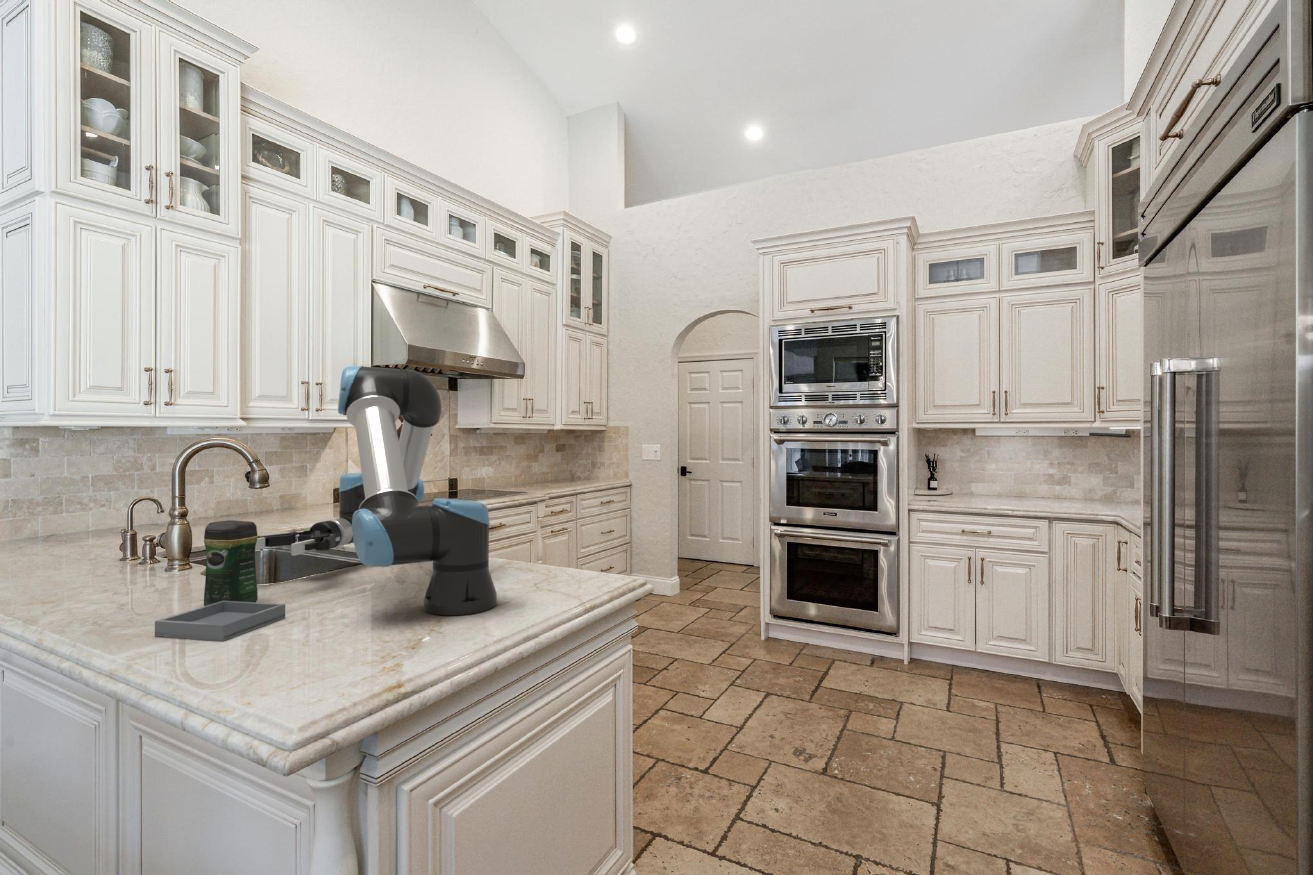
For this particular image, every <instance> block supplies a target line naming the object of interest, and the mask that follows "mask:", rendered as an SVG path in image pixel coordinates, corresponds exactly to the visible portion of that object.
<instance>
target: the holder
mask: <svg viewBox="0 0 1313 875" xmlns="http://www.w3.org/2000/svg"><path fill="white" fill-rule="evenodd" d="M283 619H286V604H285V603H275V602H274V603H272V602H271V603H270V602H239V601H220V602H217V603H214V604H210V605H207V606H204V605H203V606H200V607H198V608H194V609H192V610H188V611H184V612H182V613H181V612H180V613H178V614H174V615H171V616H168V617H164V618H161V619H158V620H155V621H154V637H156V636H164V637H163V638H170V637H171V638H172V639H173V638H174V639H184V638H186V639H187V640H201V641H216V642H225V641H228V640H230V639H233V638H235V637H238V636H241V635H244V634H246V633H249V632H252V631H255V630H258V629H260V628H262V627H266V626H267V625H270V624H274V623H276V622H279V621H281V620H283ZM165 636H166V637H165Z"/></svg>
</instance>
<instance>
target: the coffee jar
mask: <svg viewBox="0 0 1313 875" xmlns="http://www.w3.org/2000/svg"><path fill="white" fill-rule="evenodd" d="M257 529H258V528H257V524H256V523H255V522H253V521H249V520H248V521H246V520H244V521H243V520H235V519H234V520H233V519H232V520H221V521H220V520H219V521H214V522H209V523H208V524H207V525H206V526H205V529H204V533H203V534H204V536H203V544H204V546H205V554H206V555H205V556H206V562H205V563H206V564H205V565H206V566H205V580H204V582H205V583H204V594H203V607H204V606H207V605H210V604H214V603H217V602H220V601H239V602H256V603H258V597H259V595H258V594H259V593H258V583H257V582H258V581H257V570H256V567H257V566H256V551H255V546H256V542H257V539H258V536H259V535H258V534H259V533H258V530H257Z"/></svg>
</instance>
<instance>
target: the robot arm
mask: <svg viewBox="0 0 1313 875" xmlns="http://www.w3.org/2000/svg"><path fill="white" fill-rule="evenodd" d="M339 386H340V388H339V394H338V404H337V413H338V414H340V415H342V416H346V419H347V421H348V423H349V424H350V425H351V426H353V427H354V428H355V433H356V435H355V436H356V443H357V448H358V456H359V462H360V470H361V472H360V473H359V472H350V473H349V472H348V473H343V474H342V475H340V479H339V489H338V493H339V494H338V495H339V496H338V497H339V498H338V503H339V505H338V506H339V509H338V510H339V512H338V515H339V516H338V517H337V518H334V519H333V518H332V519H328V520H325V521H319V522H318V521H317V522H316V523H314V524H313V525H311V527H310V528H309V530H303V531H295V530H294V531H291V532H284V533H276V534H268V535H257V536H258V539H257V542H256V546H255V552H256V551H260V552H261V551H264V549H266V548H271V547H282V546H283V547H284V546H291V548H290V549H291V551H290V552H291V556H293V557H294V556H299V555H302V554H307V553H310V552H315V550H316V551H318V552H319V551H320V552H321V551H322V552H325V551H329V550H331V549H336V550H338V549H340V547H342V546H346V545H350V544H353V546H354V549H355V552H356V555H357V557H358V559H359V561H360V563H361V564H362V565H365V566H366V567H368V568H374V567H385V568H388V567H390V566H399V565H407V564H408V565H409V564H418V563H426V562H432V573H431V577H430V580H429V582H428V586H427V589H426V590H425V591H426V592H425V594H424V595H425V596H424V598H423V610H424V611H425V612H426V613H428V614H432V615H438V616H461V615H472V614H477V613H481V612H485V611H488V610H491V609H493V608H495V607H496V605H498V604H497V603H498V602H497V601H498V599H497V598H498V594H497V590H496V587H495V584H494V582H493V578H492V574H491V571H490V569H489V567H490V566H489V562H490V560H489V557H490V556H489V555H490V547H489V546H490V545H489V544H490V543H489V542H490V525H491V524H490V518H489V517H490V515H489V508H488V506H487V505H486V504H485V503H482V502H480V501H474V500H467V499H457V498H439V497H438V498H437V497H436V498H434V499H432V500H433V501H432V502H431V504H432V505H426V506H425V505H423V506H422V505H419V504H420V503H422V501H423V499H424V496H425V485H424V482H423V480H422V478H420V477H421V473H422V469H423V466H424V462H425V458H426V454H427V451H428V448H429V444H430V441H431V436H432V433H433V428H434V427H435V426H436V425H437V424H438V423H439V422H440V419H441V414H442V407H443V406H442V400H441V396H440V394H439V391H438V390H437V387H436V386H435V384H434V383H433V382H432V381H431V380H430V379H429V378H428V377H427V376H426V375H424V374H423V373H421V372H418V371H416V370H414V369H408V368H391V367H390V368H387V367H376V366H375V367H374V366H364V365H360V366H346V367H344V368H343V370H342V371H341V378H340V385H339ZM400 416H401V418H402V420H403V421H402V426H401V431H400V434H399V436H398V430H397V425H396V422H397V420H398V419H399V418H400Z"/></svg>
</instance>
